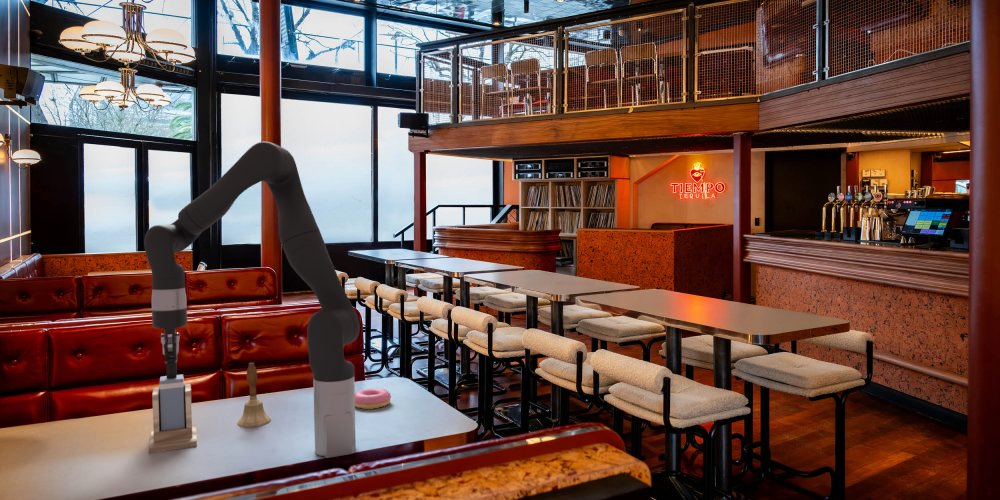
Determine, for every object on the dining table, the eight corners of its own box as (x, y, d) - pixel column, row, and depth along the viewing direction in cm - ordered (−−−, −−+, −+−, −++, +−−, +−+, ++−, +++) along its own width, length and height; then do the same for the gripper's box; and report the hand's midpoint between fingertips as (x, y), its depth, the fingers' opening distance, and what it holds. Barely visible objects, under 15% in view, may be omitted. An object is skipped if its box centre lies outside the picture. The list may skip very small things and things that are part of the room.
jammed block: (185, 435, 155) (183, 378, 154) (161, 439, 153) (159, 381, 152) (185, 429, 160) (183, 374, 159) (162, 432, 157) (160, 376, 157)
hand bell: (248, 429, 164) (246, 368, 163) (231, 423, 169) (229, 363, 168) (277, 421, 171) (275, 362, 170) (259, 415, 176) (257, 358, 175)
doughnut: (365, 413, 177) (364, 398, 177) (345, 405, 186) (345, 390, 185) (398, 405, 185) (398, 391, 185) (378, 397, 193) (377, 384, 193)
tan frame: (196, 445, 152) (195, 393, 152) (149, 453, 148) (147, 399, 147) (195, 428, 165) (194, 380, 164) (151, 434, 160) (150, 385, 160)
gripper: (186, 309, 150) (189, 382, 151) (186, 302, 162) (188, 370, 163) (150, 311, 147) (153, 386, 148) (153, 304, 159) (155, 373, 160)
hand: (171, 377), depth 155 cm, fingers closed
